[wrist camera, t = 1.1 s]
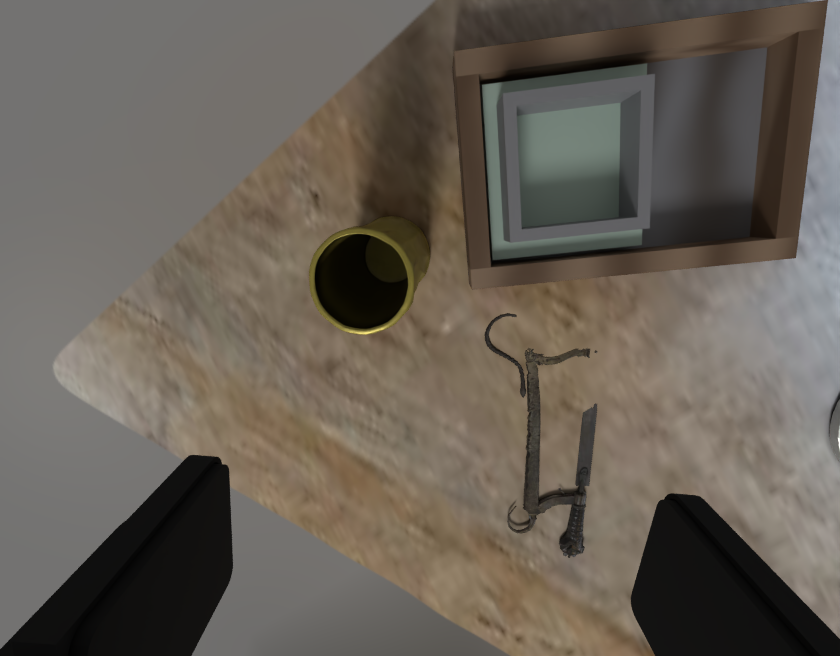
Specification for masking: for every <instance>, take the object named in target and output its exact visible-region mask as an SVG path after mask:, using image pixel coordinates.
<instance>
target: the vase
mask: <svg viewBox="0 0 840 656" xmlns="http://www.w3.org/2000/svg"><path fill="white" fill-rule="evenodd" d="M429 260H430V250H429V245H428V242H427V240H426V237H425V235H424V234H423V232H422V231H421V230H420V229H419V228H418V227H417V226H416V225H415V224H413V223H412V222H410V221H409V220H407V219H404V218H401V217H395V216H388V217H382V218H378V219H376V220H374V221H373V222H371V223H370V224H367V225H365V226H356V227H351V228H348V229H345V230H342V231H339V232H337V233H335V234H333V235H331V236H330V237H329V238H328V239H327V240H325V241H324V242H323V243H322V244H321V246H320V247H319V248H318V249H317V251H316V252H315V254H314V256H313V258H312V261H311V265H310V270H309V284H310V292H311V296H312V298H313V301H314V303H315V305H316V307H317V309H318V311H319V312H320V314H321V315H322V316H323V317H324V318H325V319H327V320H328V321H329V322H330V323H332V324H333V325H334V326H335V327H337V328H339V329H340V330H342V331H345V332H348V333H353V334H373V333H376V332H379V331H382V330H385V329H387V328H389V327H391V326H393V325H395V324H396V323H397V321H398V320H399V319H400V318H401V317H402V316H403V315H404V314H405V313H406V312H407V311H408V310H409V308H410V306H411V305H412V303H413V298H414V293H415V291H416V289H417V286H418V283H419V282H420V281H421V280H422V278H423V277H424V276H425V274H426V272H427V269H428V266H429Z"/></svg>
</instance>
